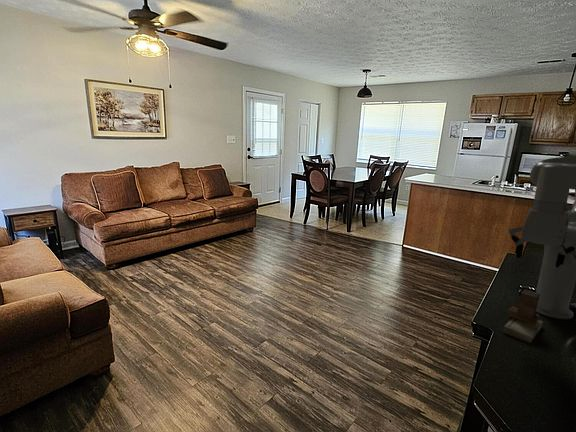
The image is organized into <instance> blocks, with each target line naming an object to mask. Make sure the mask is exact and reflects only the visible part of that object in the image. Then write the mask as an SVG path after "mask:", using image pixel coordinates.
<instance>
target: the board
mask: <svg viewBox="0 0 576 432" xmlns="http://www.w3.org/2000/svg"><path fill="white" fill-rule="evenodd" d="M543 323H544V321H543V320H541V319H538V322H537V323H536V324H535V325H533V324H530V323H527V322H525V321H522V320H519V319H516V318H513V317H512V319H511V320H510V321H507V323H505V325H504V326H503V330H502V333H504V334H506V335H509V336H511V337H514V338H515V339H519V340H521V341H524V342H526V343H529V344H531V343H532V341H533V340H534V339H535V337H536V336H537V335H538V334H539V331H540V330H541V329H542V328H543Z"/></svg>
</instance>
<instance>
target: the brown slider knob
mask: <svg viewBox="0 0 576 432" xmlns="http://www.w3.org/2000/svg"><path fill="white" fill-rule="evenodd" d="M519 296H520V297H519V302H518V305H517V307H516V306H514V305H512V306H511V307H510V308H509V309H508V312H507V316H506V322H509V321H510V320H511V319H512V317H513V318H516V319H519V320H522V321H525V322H527V323H530V324H533V325H535V324H536V323H537V322H538V320H540V315H539V314H537V312H536V309H537V305H538V300H539V296H540V294H539V293H536V291H532V290H528V289H525V288H524V289H523V290H522V291H521V293H520V295H519Z"/></svg>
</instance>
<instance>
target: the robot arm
mask: <svg viewBox="0 0 576 432" xmlns="http://www.w3.org/2000/svg"><path fill="white" fill-rule="evenodd" d="M529 180H530V182H531V183H532V184H533V185H535V186H536V188H535V193H534V196H533V197H534V198H533V203H532V208H530V209H529V210H528V212H527V215H526V217H525V220H524V222H523V226H518V227H515V228H510V229H509V230H508V233H509V236H510V239H511V240H512V242H514V243H515V246H516V248H515V252H514V254H515V255H516V258H517V259H520V258H521V257H522V256H523V252H524V247H525V246H524V243H525V242H527V243H531V244H537V245H543V246H544V251H543V258H542V263H541V268H540V270H539V271H540V272H539V275H538V276H539V278H538V282H537V286H536V289H535V292H536V293H539V294H540V296H539V300H538V305H537V309H536V313H538V314H540V315H543V316H546V317H549V318H553V319H558V320H570V319H573V317H574V315H575V314H574V312H573V311H572V310H571V309H570V304H571V301H572V295H573V291H574V289H575V284H576V257H575V256H576V199H575V200H574V202H573V203H572V205H570V204H568V199H569V195H570V190H574V195H575V198H576V154H574V155H568V156H566V155H565V156H560V157H551V158H546V159H543V160H540V161H539V162H536V164H535V165H533V167H532V168H531V170H530V172H529ZM518 232H519V233H520V232H521V235H520V238H521V239H520V238H519V237H518V235H517V233H518Z"/></svg>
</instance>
